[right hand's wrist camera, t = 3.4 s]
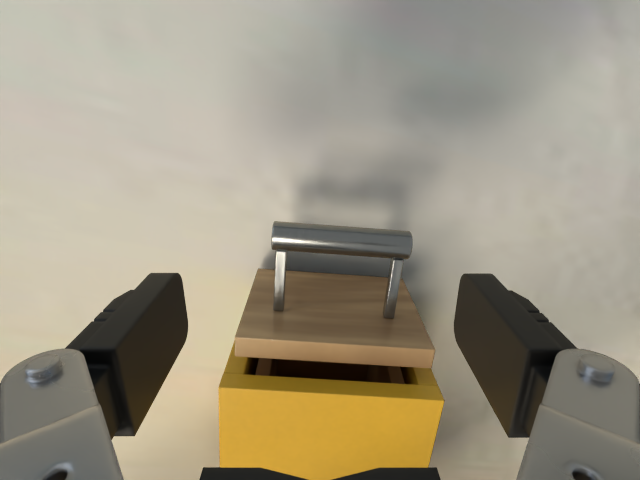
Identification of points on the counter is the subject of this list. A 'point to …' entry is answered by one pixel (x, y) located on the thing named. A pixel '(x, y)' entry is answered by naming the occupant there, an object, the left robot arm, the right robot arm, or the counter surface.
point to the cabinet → (325, 422)
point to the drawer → (334, 311)
